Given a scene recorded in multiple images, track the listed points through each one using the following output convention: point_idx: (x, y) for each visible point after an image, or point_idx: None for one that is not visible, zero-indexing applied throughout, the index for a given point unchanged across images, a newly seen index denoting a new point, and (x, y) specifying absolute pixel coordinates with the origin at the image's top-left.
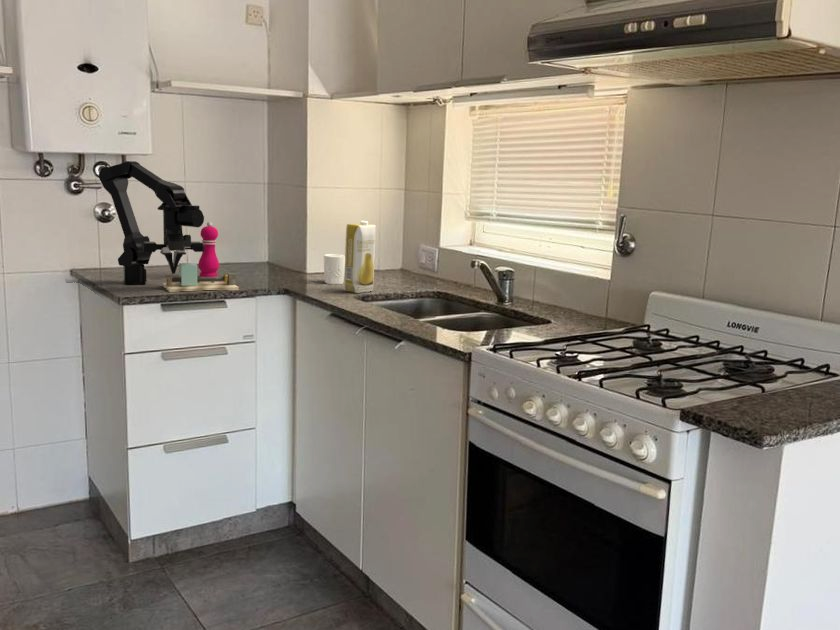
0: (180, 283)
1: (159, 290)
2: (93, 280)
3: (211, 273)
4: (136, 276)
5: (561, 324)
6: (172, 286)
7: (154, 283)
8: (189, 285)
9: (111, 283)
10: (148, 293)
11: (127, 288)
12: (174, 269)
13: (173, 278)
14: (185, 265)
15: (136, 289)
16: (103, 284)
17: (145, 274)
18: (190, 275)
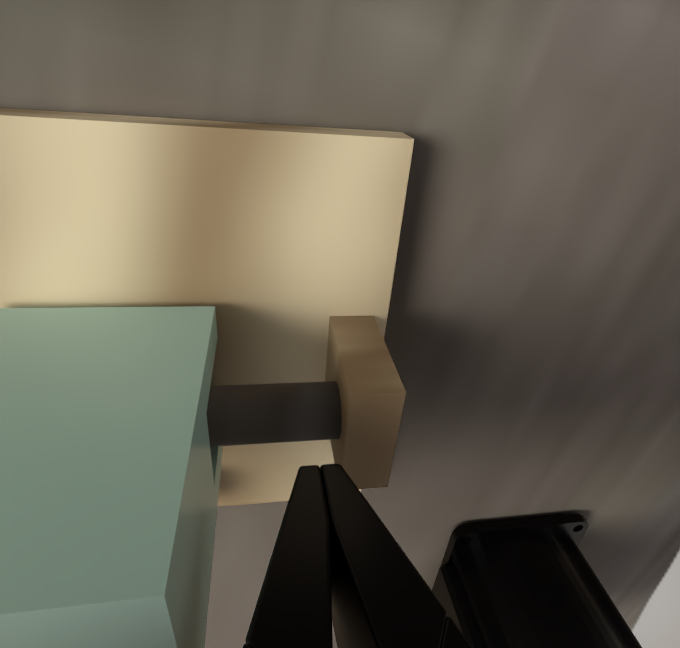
0: None
1: (458, 285)
2: (638, 611)
3: None
4: (542, 582)
5: None
6: (321, 329)
7: None
8: (105, 307)
9: (615, 554)
10: (648, 116)
11: (641, 408)
12: (316, 517)
13: (314, 408)
14: (51, 589)
15: (611, 362)
16: (671, 531)
17: (467, 620)
18: (27, 400)
